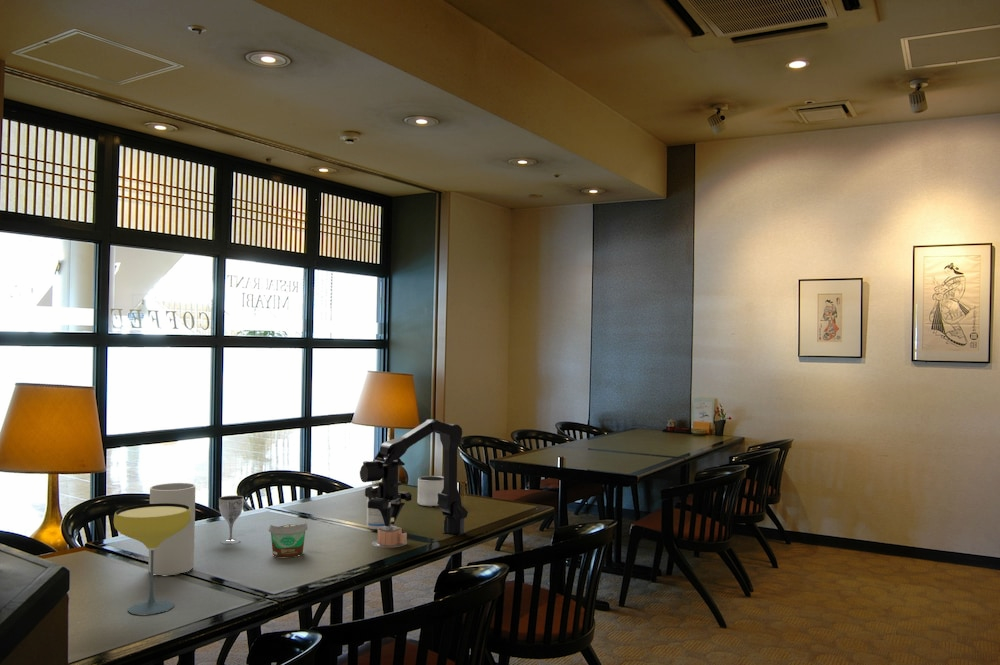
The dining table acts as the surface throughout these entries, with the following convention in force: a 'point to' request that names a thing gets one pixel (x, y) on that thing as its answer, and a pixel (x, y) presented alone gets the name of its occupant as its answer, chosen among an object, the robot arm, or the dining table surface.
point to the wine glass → (231, 510)
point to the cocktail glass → (152, 537)
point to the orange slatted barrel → (391, 536)
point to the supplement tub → (374, 517)
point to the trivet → (386, 546)
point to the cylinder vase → (179, 547)
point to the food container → (288, 540)
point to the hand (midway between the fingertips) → (389, 525)
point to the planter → (429, 490)
